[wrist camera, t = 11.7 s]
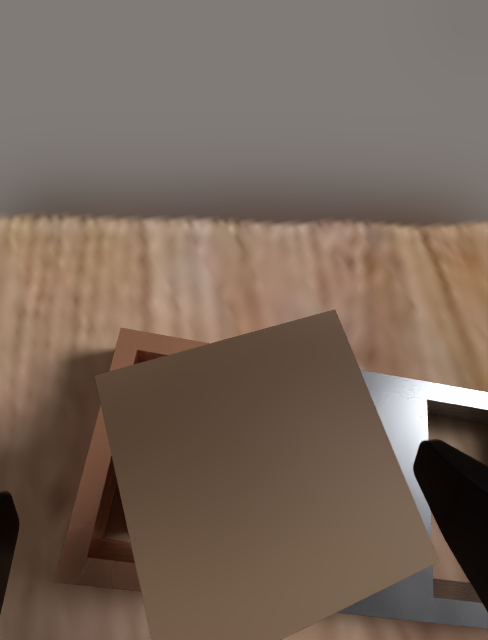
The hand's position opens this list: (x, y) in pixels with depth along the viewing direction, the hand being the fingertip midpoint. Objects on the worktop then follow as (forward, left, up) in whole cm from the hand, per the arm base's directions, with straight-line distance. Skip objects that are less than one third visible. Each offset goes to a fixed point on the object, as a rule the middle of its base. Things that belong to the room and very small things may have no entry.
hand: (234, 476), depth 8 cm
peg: (0, 0, -9) cm, 9 cm away
